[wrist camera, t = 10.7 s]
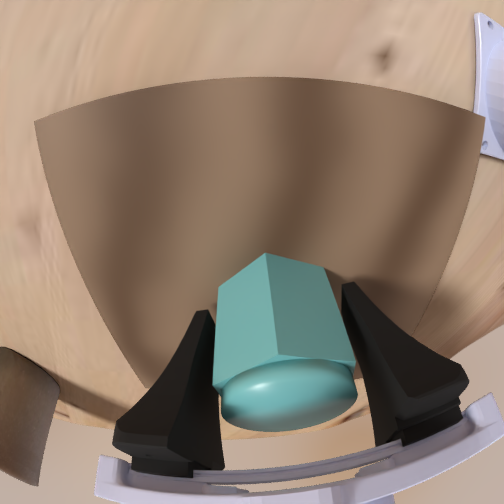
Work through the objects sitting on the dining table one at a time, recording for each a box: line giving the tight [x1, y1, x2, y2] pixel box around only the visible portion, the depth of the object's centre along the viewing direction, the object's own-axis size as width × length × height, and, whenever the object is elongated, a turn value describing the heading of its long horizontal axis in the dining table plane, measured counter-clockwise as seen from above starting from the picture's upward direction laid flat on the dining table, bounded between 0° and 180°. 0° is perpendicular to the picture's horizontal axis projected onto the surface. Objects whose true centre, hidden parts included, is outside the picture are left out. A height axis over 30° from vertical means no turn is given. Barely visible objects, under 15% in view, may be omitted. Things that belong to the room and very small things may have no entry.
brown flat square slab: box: [34, 77, 486, 388], centre depth 14 cm, size 20×20×1 cm
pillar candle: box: [0, 347, 60, 486], centre depth 16 cm, size 10×10×15 cm
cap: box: [213, 253, 358, 432], centre depth 11 cm, size 5×6×6 cm
